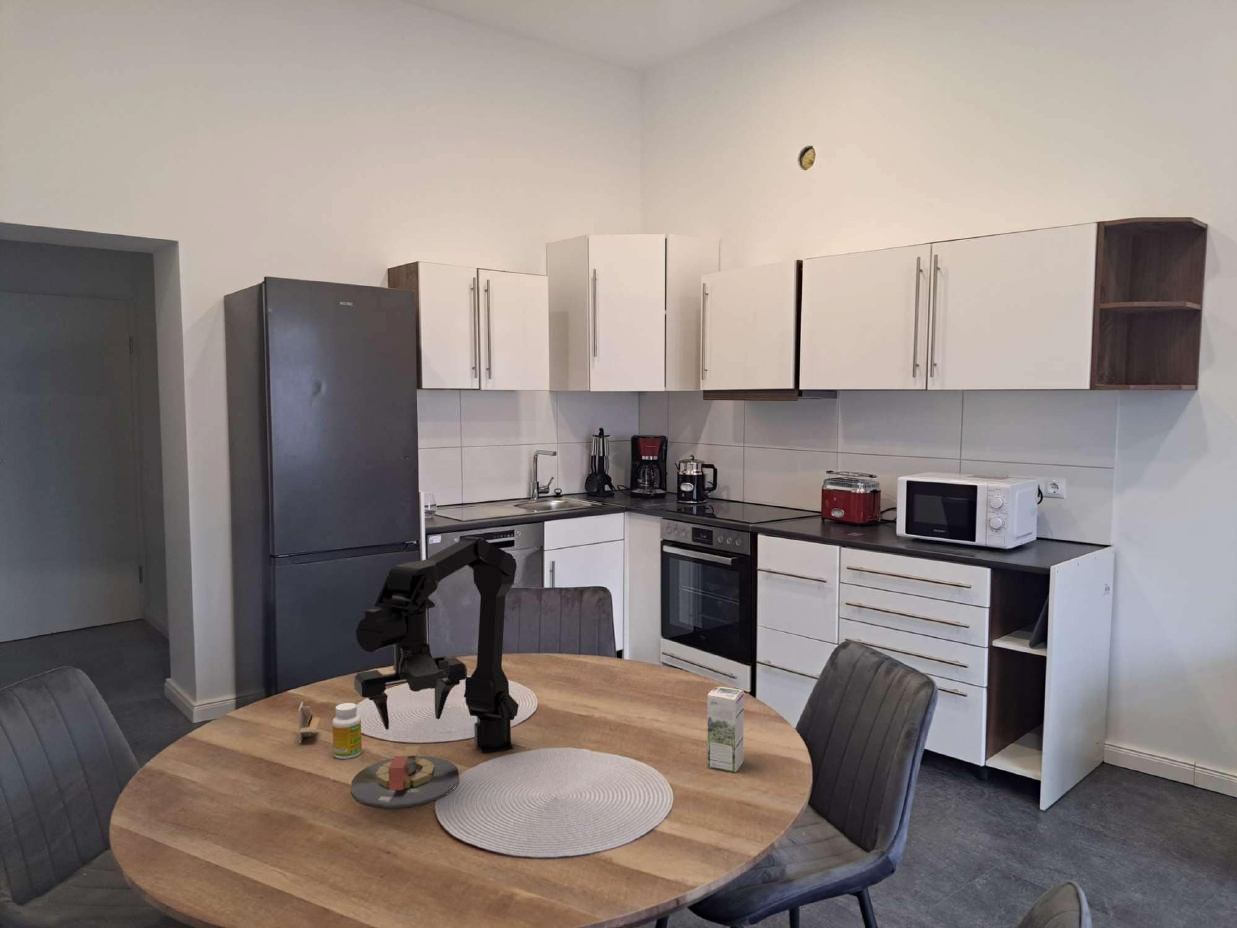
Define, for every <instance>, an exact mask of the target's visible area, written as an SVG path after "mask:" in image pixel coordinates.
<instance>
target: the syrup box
mask: <svg viewBox="0 0 1237 928" xmlns="http://www.w3.org/2000/svg"><path fill="white" fill-rule="evenodd" d="M744 694H745V692H744V689H739V688H731V687H726V686H718V685H716V686H715V687H713V688H712V689H711V690H710V691H709V692H708V694H707V697H706V698H707V702H706V703H707V704H706V705H707V707H706V708H707V726H706V727H707V728H706V729H707V735H706V737H707V744H706V745H707V751H706V752H707V754H706V755H707V763H706V764H707V765H706V766H707V768H709V769H715V770H719V771H720V770H721V771H726V772H731V773H736V772H737V771H738V770H739V769H740V767H741V766H742V764H743V763H744V758H745V757H744V717H745V716H744V709H745V706H744V705H745V703H744V702H745V695H744Z"/></svg>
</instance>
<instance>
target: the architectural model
mask: <svg viewBox="0 0 1237 928" xmlns="http://www.w3.org/2000/svg"><path fill="white" fill-rule="evenodd" d="M297 712H298V713H297V714H298V715H297V717H298V743H302V741H303V738H305V737H307V738H308V737H312V734H313V733H314V732H316V731H317V728H318V727H319V722H320V719H321V718H320V717H313V716H314V715H313V711H311V707H310V706H308V705H307V706H304V701H301V703H300V705H299V707H298V711H297Z"/></svg>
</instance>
